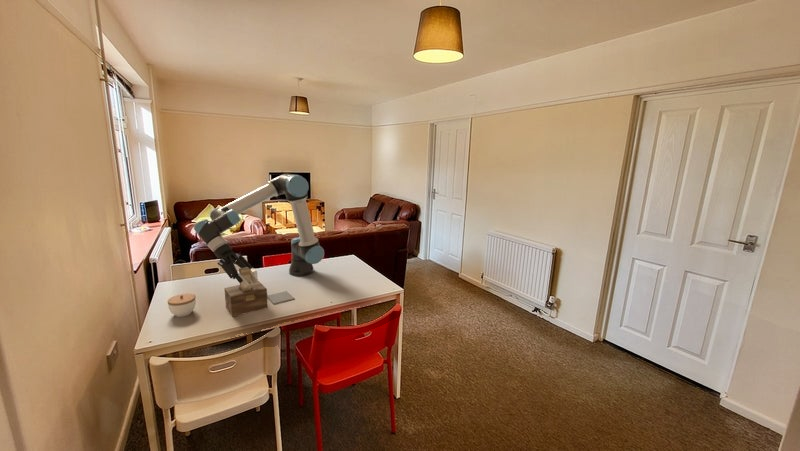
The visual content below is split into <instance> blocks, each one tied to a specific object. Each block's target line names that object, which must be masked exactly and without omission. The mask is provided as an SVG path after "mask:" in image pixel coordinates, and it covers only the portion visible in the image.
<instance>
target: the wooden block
mask: <svg viewBox="0 0 800 451" xmlns="http://www.w3.org/2000/svg"><path fill="white" fill-rule="evenodd" d="M238 274H239V275H240V274H241V275H242V276H243V277H244V279H245V280H246V281H247V282H248V283H249V284H250V285H249V286H248V287H247V288H245V287H244V286H243V285H242V284H241V283H239V285H240V290H241V292H242V291H246V290H251V275H250V269H249V268H248V267H245V268H240V267H239V268H238Z"/></svg>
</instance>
